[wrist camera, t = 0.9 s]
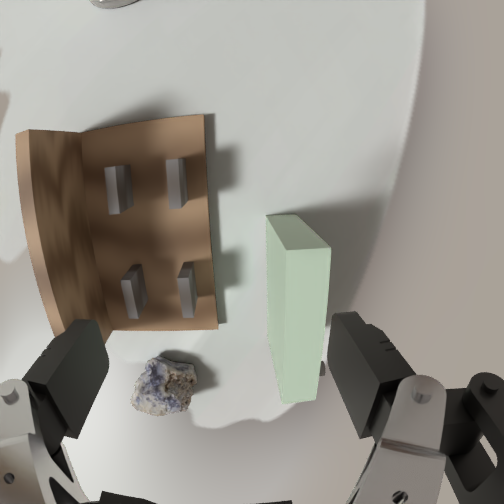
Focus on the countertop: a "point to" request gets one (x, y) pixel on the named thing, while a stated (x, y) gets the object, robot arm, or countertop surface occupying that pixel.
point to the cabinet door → (296, 304)
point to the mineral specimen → (164, 387)
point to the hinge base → (120, 225)
